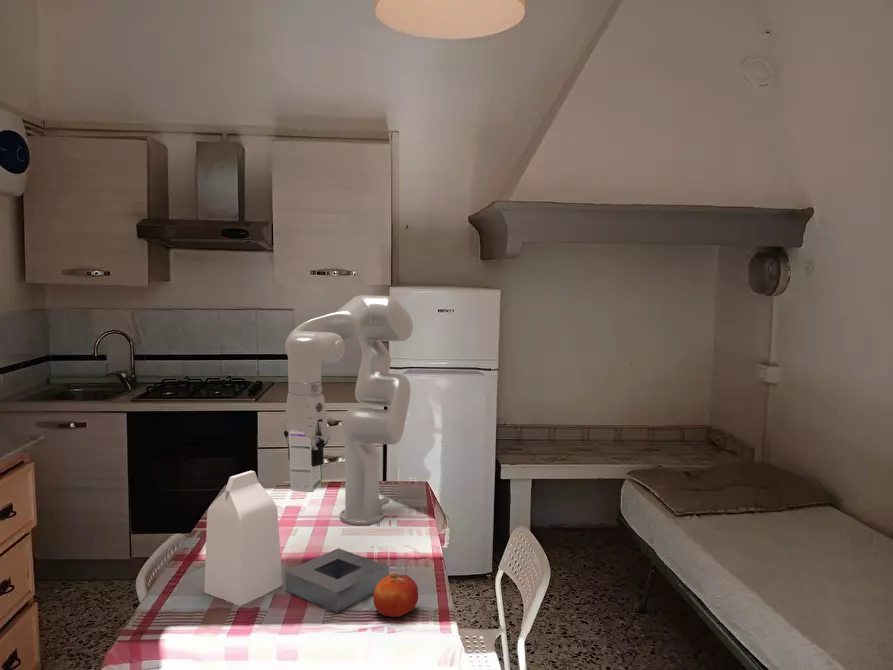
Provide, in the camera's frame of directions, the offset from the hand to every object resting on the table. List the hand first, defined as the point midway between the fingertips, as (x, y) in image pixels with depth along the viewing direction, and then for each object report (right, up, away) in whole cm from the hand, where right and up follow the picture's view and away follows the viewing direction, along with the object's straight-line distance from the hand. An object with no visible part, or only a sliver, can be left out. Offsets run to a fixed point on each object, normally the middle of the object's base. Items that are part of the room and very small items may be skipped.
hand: (305, 461), depth 163 cm
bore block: (+9, -26, -10) cm, 30 cm away
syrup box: (0, -7, +1) cm, 7 cm away
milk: (-11, -26, -11) cm, 31 cm away
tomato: (+23, -28, -20) cm, 41 cm away
